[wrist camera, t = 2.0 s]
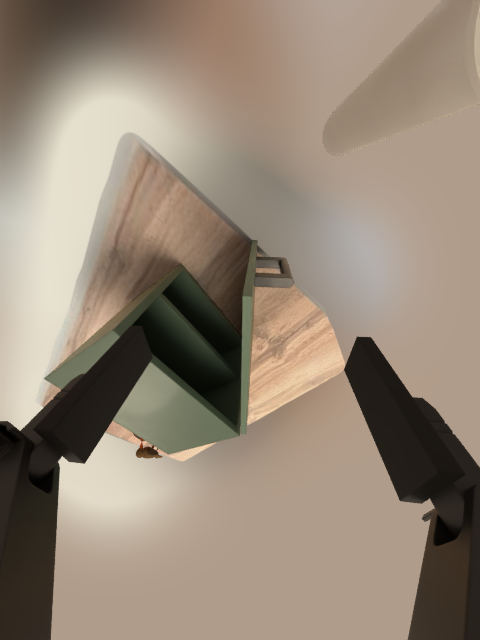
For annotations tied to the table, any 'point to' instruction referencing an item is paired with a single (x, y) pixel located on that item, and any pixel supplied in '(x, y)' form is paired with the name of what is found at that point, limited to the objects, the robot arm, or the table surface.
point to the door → (248, 312)
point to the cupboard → (173, 366)
